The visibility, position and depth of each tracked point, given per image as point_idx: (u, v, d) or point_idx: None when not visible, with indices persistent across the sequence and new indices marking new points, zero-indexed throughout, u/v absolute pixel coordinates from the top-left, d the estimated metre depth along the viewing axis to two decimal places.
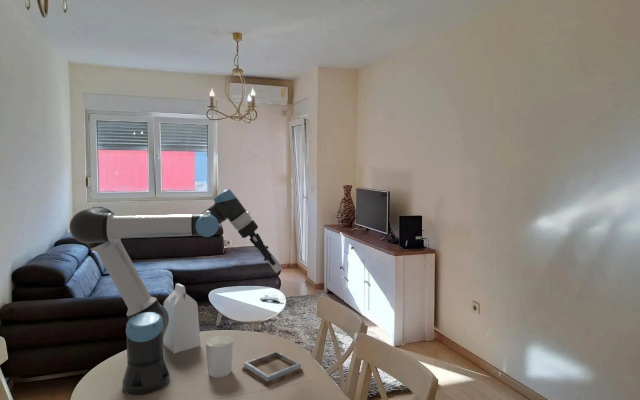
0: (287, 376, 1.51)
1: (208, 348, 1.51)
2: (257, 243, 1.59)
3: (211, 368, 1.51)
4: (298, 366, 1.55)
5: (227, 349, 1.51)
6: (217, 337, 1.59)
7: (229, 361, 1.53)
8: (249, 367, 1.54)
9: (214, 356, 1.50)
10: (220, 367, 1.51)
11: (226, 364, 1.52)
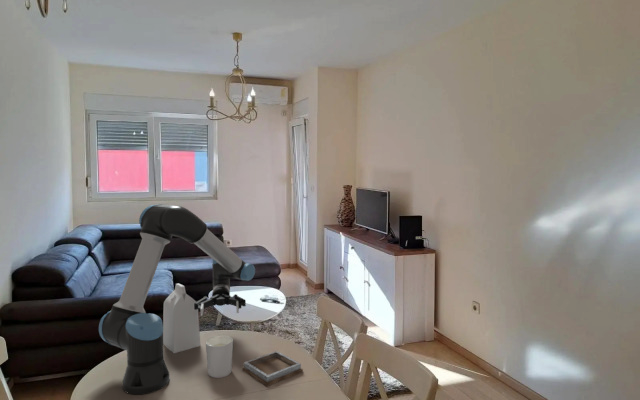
0: (287, 376, 1.51)
1: (208, 348, 1.51)
2: None
3: (211, 368, 1.51)
4: (298, 366, 1.55)
5: (227, 349, 1.51)
6: (217, 337, 1.59)
7: (229, 361, 1.53)
8: (249, 367, 1.54)
9: (214, 356, 1.50)
10: (220, 367, 1.51)
11: (226, 364, 1.52)
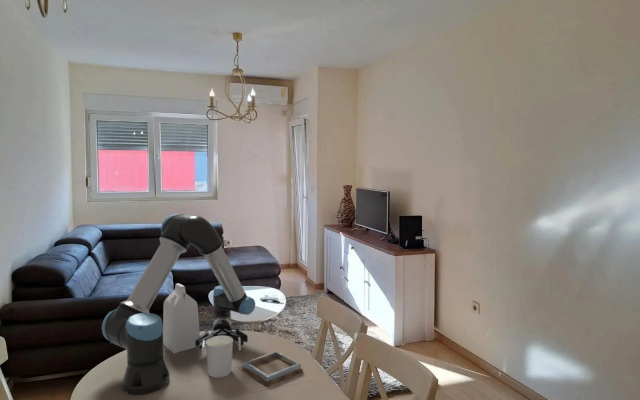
0: (287, 376, 1.51)
1: (208, 348, 1.51)
2: None
3: (211, 368, 1.51)
4: (298, 366, 1.55)
5: (227, 349, 1.51)
6: (217, 337, 1.59)
7: (229, 361, 1.53)
8: (249, 367, 1.54)
9: (214, 356, 1.50)
10: (220, 367, 1.51)
11: (226, 364, 1.52)
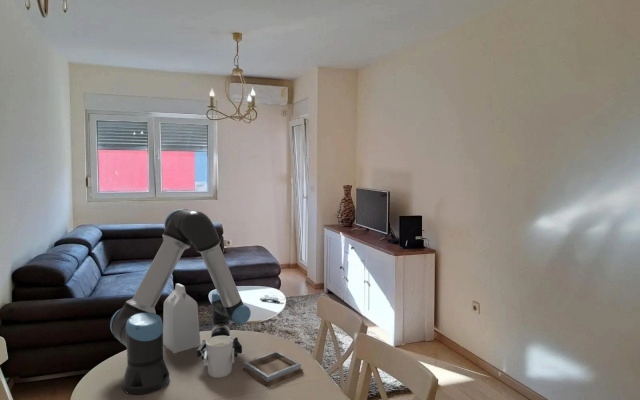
0: (287, 376, 1.51)
1: (208, 348, 1.51)
2: None
3: (211, 368, 1.51)
4: (298, 366, 1.55)
5: (227, 349, 1.51)
6: (217, 337, 1.59)
7: (229, 361, 1.53)
8: (249, 367, 1.54)
9: (214, 356, 1.50)
10: (220, 367, 1.51)
11: (226, 364, 1.52)
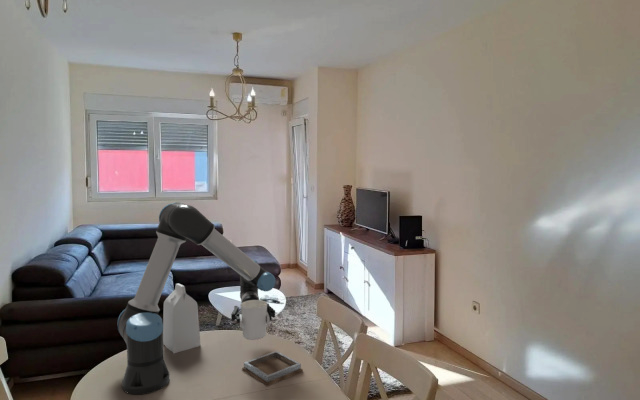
0: (287, 376, 1.51)
1: (244, 310, 1.52)
2: None
3: (246, 330, 1.52)
4: (298, 366, 1.55)
5: (262, 311, 1.52)
6: (250, 301, 1.60)
7: (264, 324, 1.54)
8: (249, 367, 1.54)
9: (250, 318, 1.51)
10: (256, 329, 1.52)
11: (261, 326, 1.53)
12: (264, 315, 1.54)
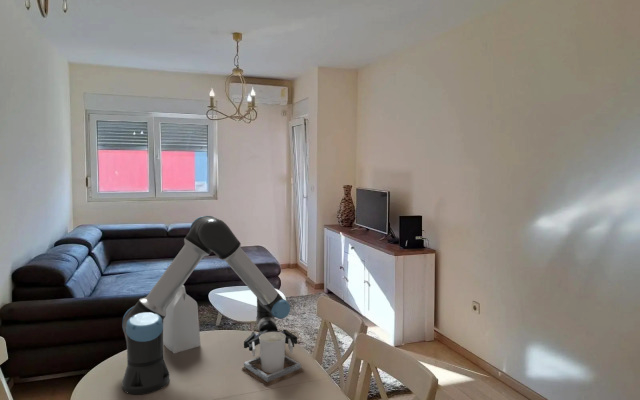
0: (287, 376, 1.51)
1: (263, 344, 1.52)
2: None
3: (265, 363, 1.52)
4: (298, 366, 1.55)
5: (281, 344, 1.53)
6: (268, 333, 1.60)
7: (283, 357, 1.54)
8: (249, 367, 1.54)
9: (269, 352, 1.51)
10: (275, 362, 1.52)
11: (280, 359, 1.53)
12: (283, 348, 1.54)
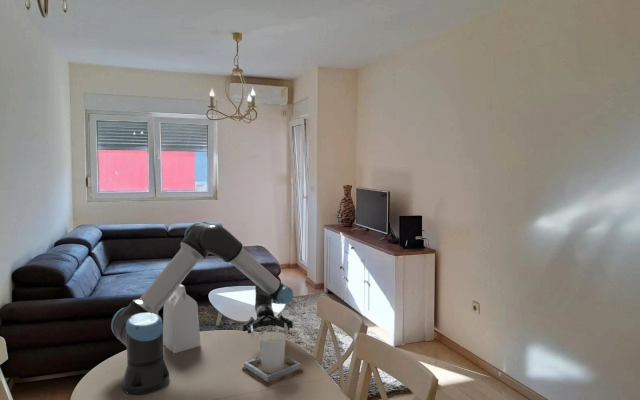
0: (287, 376, 1.51)
1: (263, 344, 1.52)
2: None
3: (265, 363, 1.52)
4: (298, 366, 1.55)
5: (281, 344, 1.52)
6: (268, 333, 1.60)
7: (283, 357, 1.54)
8: (249, 367, 1.54)
9: (269, 352, 1.51)
10: (275, 363, 1.52)
11: (280, 360, 1.53)
12: (283, 348, 1.54)
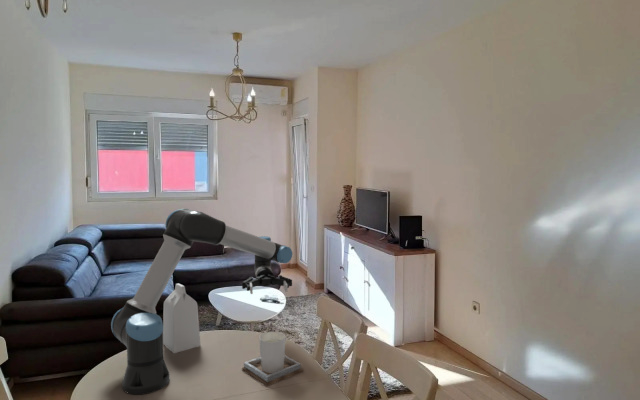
0: (287, 376, 1.51)
1: (263, 344, 1.52)
2: None
3: (265, 363, 1.52)
4: (298, 366, 1.55)
5: (281, 344, 1.52)
6: (268, 333, 1.60)
7: (283, 357, 1.54)
8: (249, 367, 1.54)
9: (269, 352, 1.51)
10: (275, 363, 1.52)
11: (280, 360, 1.53)
12: (283, 348, 1.54)
